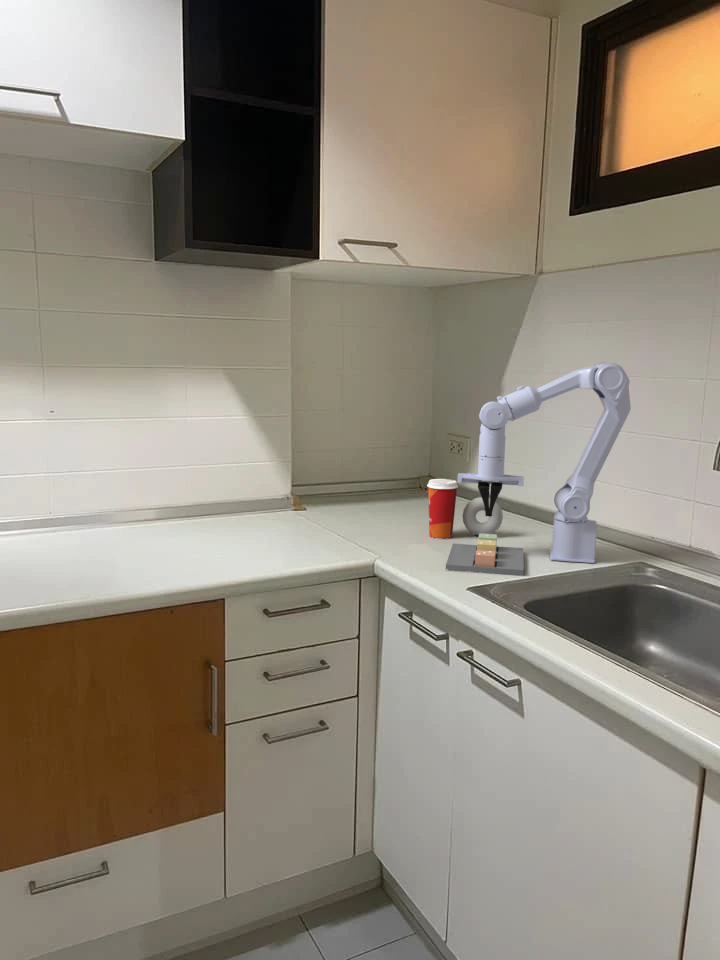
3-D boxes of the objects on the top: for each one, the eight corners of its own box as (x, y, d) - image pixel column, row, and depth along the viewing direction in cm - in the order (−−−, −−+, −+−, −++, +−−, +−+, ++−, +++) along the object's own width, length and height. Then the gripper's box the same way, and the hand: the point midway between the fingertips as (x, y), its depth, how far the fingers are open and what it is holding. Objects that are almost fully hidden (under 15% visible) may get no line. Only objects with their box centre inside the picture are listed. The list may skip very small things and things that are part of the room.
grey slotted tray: (522, 553, 172) (523, 548, 171) (523, 575, 154) (523, 570, 154) (452, 548, 175) (453, 543, 175) (445, 570, 157) (445, 564, 157)
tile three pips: (494, 565, 160) (495, 550, 160) (493, 570, 156) (494, 555, 156) (475, 564, 161) (476, 549, 160) (474, 569, 157) (475, 554, 157)
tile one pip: (496, 547, 172) (497, 533, 171) (495, 552, 168) (496, 538, 167) (478, 546, 172) (479, 532, 172) (477, 551, 169) (478, 536, 168)
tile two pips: (495, 554, 166) (496, 540, 165) (495, 559, 162) (495, 544, 161) (477, 553, 167) (478, 539, 166) (476, 558, 163) (477, 543, 162)
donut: (461, 536, 186) (463, 497, 184) (461, 533, 189) (462, 494, 188) (502, 538, 185) (504, 499, 183) (501, 535, 188) (503, 496, 187)
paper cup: (438, 531, 192) (439, 477, 189) (462, 536, 186) (464, 481, 184) (418, 536, 186) (420, 480, 184) (443, 541, 181) (445, 484, 178)
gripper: (524, 454, 169) (521, 513, 171) (460, 452, 172) (457, 509, 174) (524, 459, 162) (521, 520, 164) (457, 456, 165) (455, 516, 167)
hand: (488, 515), depth 169 cm, fingers closed
